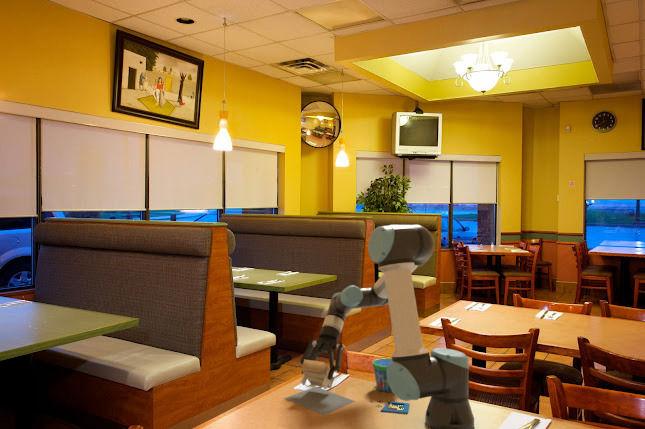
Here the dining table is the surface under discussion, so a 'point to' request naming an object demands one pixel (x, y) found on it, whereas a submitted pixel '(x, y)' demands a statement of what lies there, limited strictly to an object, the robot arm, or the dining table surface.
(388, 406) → the handheld gaming device
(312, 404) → the mat
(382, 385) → the snack cup
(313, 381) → the birch board
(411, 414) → the dining table surface
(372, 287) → the robot arm
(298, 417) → the dining table surface
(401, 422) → the dining table surface
